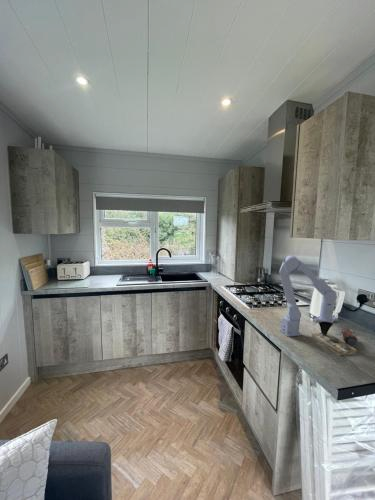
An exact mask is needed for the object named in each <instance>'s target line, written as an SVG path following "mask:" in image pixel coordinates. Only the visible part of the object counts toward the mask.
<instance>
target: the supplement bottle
mask: <svg viewBox="0 0 375 500" xmlns="http://www.w3.org/2000/svg"><path fill="white" fill-rule="evenodd" d="M340 334H341V337H342V339H343V342H344V343H346V344H348V345H349V346H351V347H356V346H357V344H358V341H359V339H358V338H357V336H356V334H355V331H353V329H351V328H348V327H347V328H346V327H344V328H342V330H341V331H340Z"/></svg>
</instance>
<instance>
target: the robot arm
mask: <svg viewBox="0 0 375 500" xmlns="http://www.w3.org/2000/svg"><path fill="white" fill-rule="evenodd" d="M295 269H296V270H298V271H301V272H302V273H304V274H305V275H306V277H307V278H309V279H310V280H311V283H310V284H311V285H312V287H314V288H315V289H316V290H317V292H319V294H321V296H322V297H321V298H322V299H321V303H320V311H319V316H317V317H313V319H312V323H314V324H318V325H319V328H320V333H322V334H323V335H326V334H327V333H329V330H330V329H331V327H332V326H333V325H334V322H338V321H339V318H338V316H337V317H336V316H333V315H334V308H335V301H336V300H337V298H338V296H337V293H336V291H334V290H333V288H332V286H331V285H329V284H328V283H327V282H326V280H325V279H324V278H321V277H318V276H316V274H314V273H313V271H311V269H310V268H309V267H308V266H307V265H306V264H305V263H304V262H303V261H302V260H300V259H299V258H298V257H296V256H295V255H293V254H289V255H287V256H286V257H285V258H284V259H283V260H282V263H281V266H280V268H279V271H278V272H279V277H280V280H281V281H280V282H281V284H282V288H283V292H284V295H285V299H286V304H287V306H286V311H287V313H286V315H285V317H282V318H281V320H280V325H279V327H280V328H278V330H279V331H280V332H281V333H283V334H284V335H285V336H287V337H296V336H303V333H301V332H300V322H301V318H302V312H301V311H300V307H299V305H298V304H297V301H296V297H295V293H294V289H293V286H292V285H293V284H292V282H291V278H290V274H291V272H292V271H293V270H295Z"/></svg>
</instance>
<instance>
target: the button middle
mask: <svg viewBox="0 0 375 500" xmlns="http://www.w3.org/2000/svg"><path fill="white" fill-rule="evenodd" d="M335 337H336V336H334V337H331V341H332V342H334V343H338V339H339V338H338V337H336V338H335Z"/></svg>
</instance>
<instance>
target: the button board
mask: <svg viewBox="0 0 375 500" xmlns="http://www.w3.org/2000/svg"><path fill="white" fill-rule="evenodd" d="M320 334H321V332H315V333H311V339H314V340H315V341H316V342H317V343H319V344H321V345H322V346H324V347H326V348H327V349H329V350H331V351H332V352H333V353H335V354H336V355H338V356H340V357H341V356H346V355H353V354H356V353H357V349H356V348H354V346H350V345H348V344H346V343H345V341H344V340H341V339H339V338H337V337H336V336H334V335H332V334H331V333H329V332H327V336H325V337H324V336H322V335H320ZM331 337H335V338H337V339H338V343H334V342H332V341H331ZM342 346H348V347H349V348H350V350H345V349H343V348H342Z"/></svg>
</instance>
